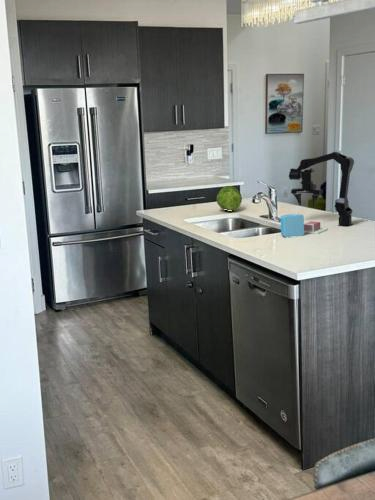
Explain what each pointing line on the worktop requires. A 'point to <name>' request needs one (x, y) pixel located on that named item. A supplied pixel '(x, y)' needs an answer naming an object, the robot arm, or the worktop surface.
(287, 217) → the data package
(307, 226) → the card deck
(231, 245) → the worktop surface
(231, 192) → the lettuce
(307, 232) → the mat
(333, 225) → the worktop surface
